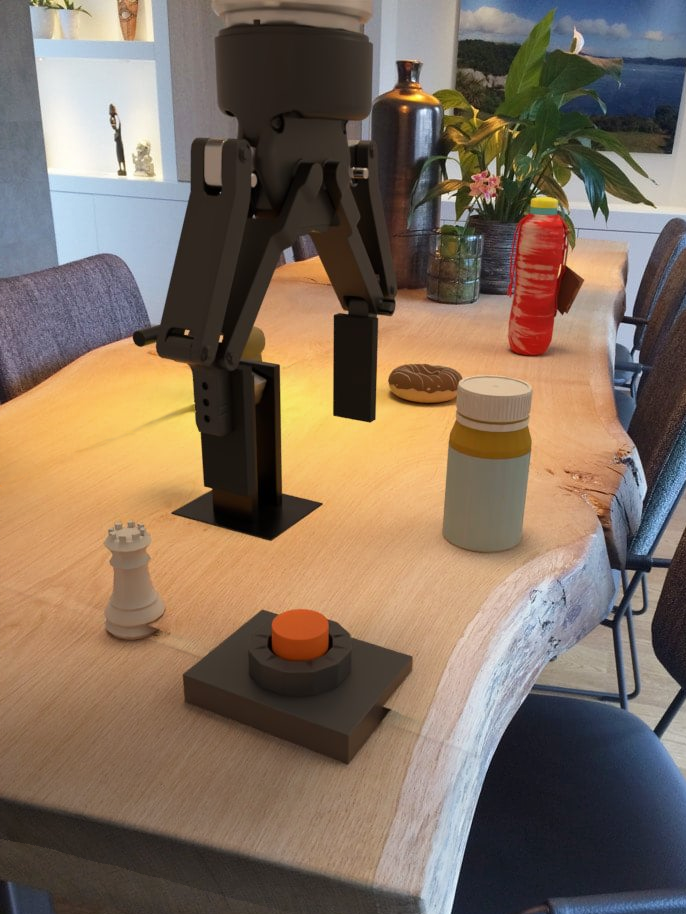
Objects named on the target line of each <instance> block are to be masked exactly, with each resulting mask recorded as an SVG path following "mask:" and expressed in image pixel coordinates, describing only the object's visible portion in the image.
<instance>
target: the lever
mask: <svg viewBox="0 0 686 914" xmlns="http://www.w3.org/2000/svg"><path fill="white" fill-rule="evenodd" d="M159 328H160V324H157V325H153V326H149V327H146V328H141V329H138V330H135V331H134V332H133V333H132V341H133V343H134V345H135V346H137V347H139V348H143V347H147V346H149V345H152V344H156V341H157V336H158V332H159ZM252 374H253V375H254V382H255V405H256V404H258V403H260V401H261V397H262V394H263V391H264V388H265V385H266V382H267V380H266V379H264V378H263V377H261V376H259V375H258V374H256V373H254V372H253V371H252Z"/></svg>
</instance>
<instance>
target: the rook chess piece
mask: <svg viewBox="0 0 686 914" xmlns="http://www.w3.org/2000/svg"><path fill="white" fill-rule="evenodd" d="M107 533H108V535H107V536H106V538H105V540H103V541H104V542H103V545H104V547H105V548H106V549H107V550H108V552H110V553H111V557H110V559H109V561H108V562H109V565H110V566H111V567H112V571H113V582H112V592H111V594H110V596H109V598H108V602H107V603H106V605H105V607H104V611H103V612H104V616H105V621H104V626H105V630H106V631H108V632H109V633H111V634H112V635H113V636H114V637H115V638H119V639H123V640H132V641H133V640H134V641H135V640H140V639H145V638H148V637H150V636H151V637H152V636H153V635H155V634H157V633H158V632H159V631H160V630H161V629H159V628H157V627H154V626H152V625H149V624H151V623H153V622H155V621H156V620H158V619H159V618H160V617H161V616H162V615H163V614H164V612H165V610H166V605H165V602H164V600H163V597H162V596H161V595H159V593H158V590H157V589H156V588H154V585H153V582H152V578H151V574H150V570H149V569H150V567H149V563H150V561H151V556H150V554H149V553H148V552H147V549H148V548H149V546H150V544H151V543H152V541H153V537H152V535H151V534H150V533H149V532H148V531H147V528H146V526H145V524H144V523H143V522H141V521H140V522H138V523H137V524H136V521H135V520H127V526H123V523H122V521H119V522H116V523H114V526H109V527H108V529H107Z"/></svg>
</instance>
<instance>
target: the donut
mask: <svg viewBox="0 0 686 914" xmlns="http://www.w3.org/2000/svg"><path fill="white" fill-rule="evenodd" d="M462 379H463V376H462V374H461V373H460V372H459V371H458V370H457V369H455V368H452V367H450V366H446V365H445V366H444V365H438V364H437V365H434V364H433V365H432V364H429V363H409V364H402V365H399V366H397V367H395V368H394V369H392V371H391V372H390V374H389V375H388V379H387V383H388V387H389V389H390V391H391V392H392V393H393V394H394V395H395V396H397V397H398V398H401V399H403V400H406V401H410V402H415V403H427V404H428V403H429V404H430V403H431V404H434V403H444V402H448V401H451V400H454V399H455V398H457V389H458V384H459V381H460V380H462Z"/></svg>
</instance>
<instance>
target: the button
mask: <svg viewBox="0 0 686 914" xmlns="http://www.w3.org/2000/svg"><path fill="white" fill-rule="evenodd" d="M278 614H279V615H278V616H276V617H275V618H274V620H273V622H272V650H273V652H274V654H275V655H276V656H277V657H280V658H282V659H285V660H288V661H309V660H312V659H315V658H318V657H321V656H323V655H324V654H325V653H326V652H327V650H328V641H329V623H328V620H327V619H328V618H327V617H326V616H325V615H324V614H323V613H321V612H319V611H316V610H313V609H309V608H308V609H306V608H296V609H289V610H285V611H283V612H281V613H278Z"/></svg>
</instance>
